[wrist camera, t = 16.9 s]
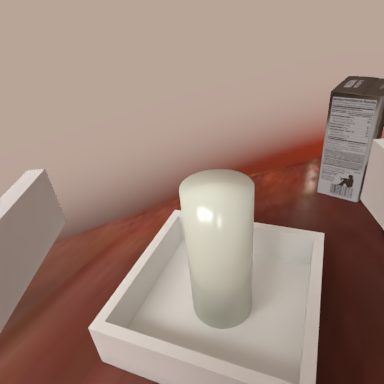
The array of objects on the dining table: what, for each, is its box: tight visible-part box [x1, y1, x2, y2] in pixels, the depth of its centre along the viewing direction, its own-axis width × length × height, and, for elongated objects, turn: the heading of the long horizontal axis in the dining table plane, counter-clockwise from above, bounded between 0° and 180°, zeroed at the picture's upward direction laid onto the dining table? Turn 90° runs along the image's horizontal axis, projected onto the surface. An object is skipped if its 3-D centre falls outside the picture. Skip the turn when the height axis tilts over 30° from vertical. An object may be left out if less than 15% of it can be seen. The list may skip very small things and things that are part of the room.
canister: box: [179, 169, 254, 329], centre depth 28 cm, size 6×6×14 cm
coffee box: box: [317, 76, 384, 202], centre depth 47 cm, size 9×6×16 cm
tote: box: [88, 210, 324, 384], centre depth 31 cm, size 18×18×5 cm
